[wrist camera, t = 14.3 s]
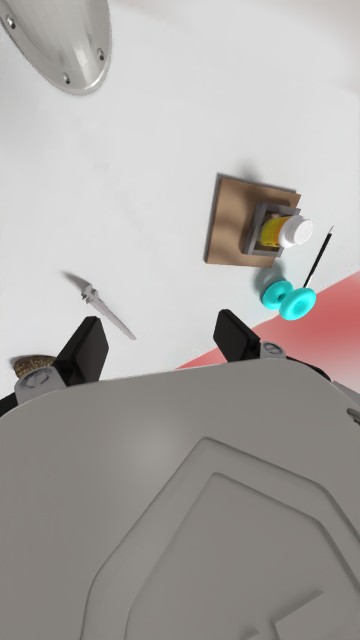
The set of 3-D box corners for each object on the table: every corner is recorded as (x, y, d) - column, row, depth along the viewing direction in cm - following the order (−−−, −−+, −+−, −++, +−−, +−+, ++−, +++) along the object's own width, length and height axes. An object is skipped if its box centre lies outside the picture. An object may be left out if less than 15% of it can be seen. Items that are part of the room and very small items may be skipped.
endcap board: (220, 179, 28) (229, 172, 25) (296, 196, 32) (312, 191, 29) (205, 262, 36) (211, 265, 33) (267, 266, 40) (277, 269, 37)
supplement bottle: (251, 246, 35) (285, 249, 26) (257, 219, 32) (297, 213, 23) (270, 244, 36) (309, 248, 27) (278, 218, 33) (324, 213, 24)
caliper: (87, 285, 33) (76, 294, 28) (91, 283, 33) (80, 292, 28) (133, 339, 45) (131, 353, 40) (136, 338, 45) (135, 351, 39)
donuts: (288, 297, 35) (323, 284, 35) (261, 285, 43) (290, 275, 43) (282, 326, 41) (313, 314, 41) (259, 310, 49) (285, 301, 49)
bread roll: (65, 355, 43) (56, 368, 39) (68, 380, 48) (60, 393, 44) (11, 352, 39) (-6, 366, 34) (21, 380, 44) (8, 394, 40)
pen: (300, 291, 48) (303, 292, 47) (330, 226, 38) (335, 226, 37) (302, 290, 48) (305, 291, 48) (333, 226, 38) (337, 226, 37)
